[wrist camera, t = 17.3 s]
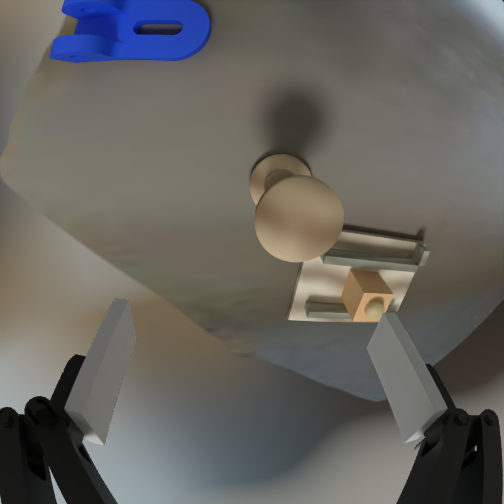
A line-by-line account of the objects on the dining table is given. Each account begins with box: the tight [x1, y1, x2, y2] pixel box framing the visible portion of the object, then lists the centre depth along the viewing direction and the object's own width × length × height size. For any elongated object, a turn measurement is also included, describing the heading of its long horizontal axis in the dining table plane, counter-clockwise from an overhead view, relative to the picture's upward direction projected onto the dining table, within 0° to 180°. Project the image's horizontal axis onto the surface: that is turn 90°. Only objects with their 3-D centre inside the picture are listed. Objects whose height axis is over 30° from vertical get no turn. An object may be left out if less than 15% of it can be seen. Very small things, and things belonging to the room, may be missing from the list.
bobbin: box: [249, 154, 344, 262], centre depth 31 cm, size 8×8×13 cm
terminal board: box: [287, 229, 430, 322], centre depth 43 cm, size 16×20×4 cm
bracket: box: [50, 0, 211, 63], centre depth 22 cm, size 18×8×9 cm, turn 79°
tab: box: [341, 270, 394, 321], centre depth 40 cm, size 5×5×7 cm
